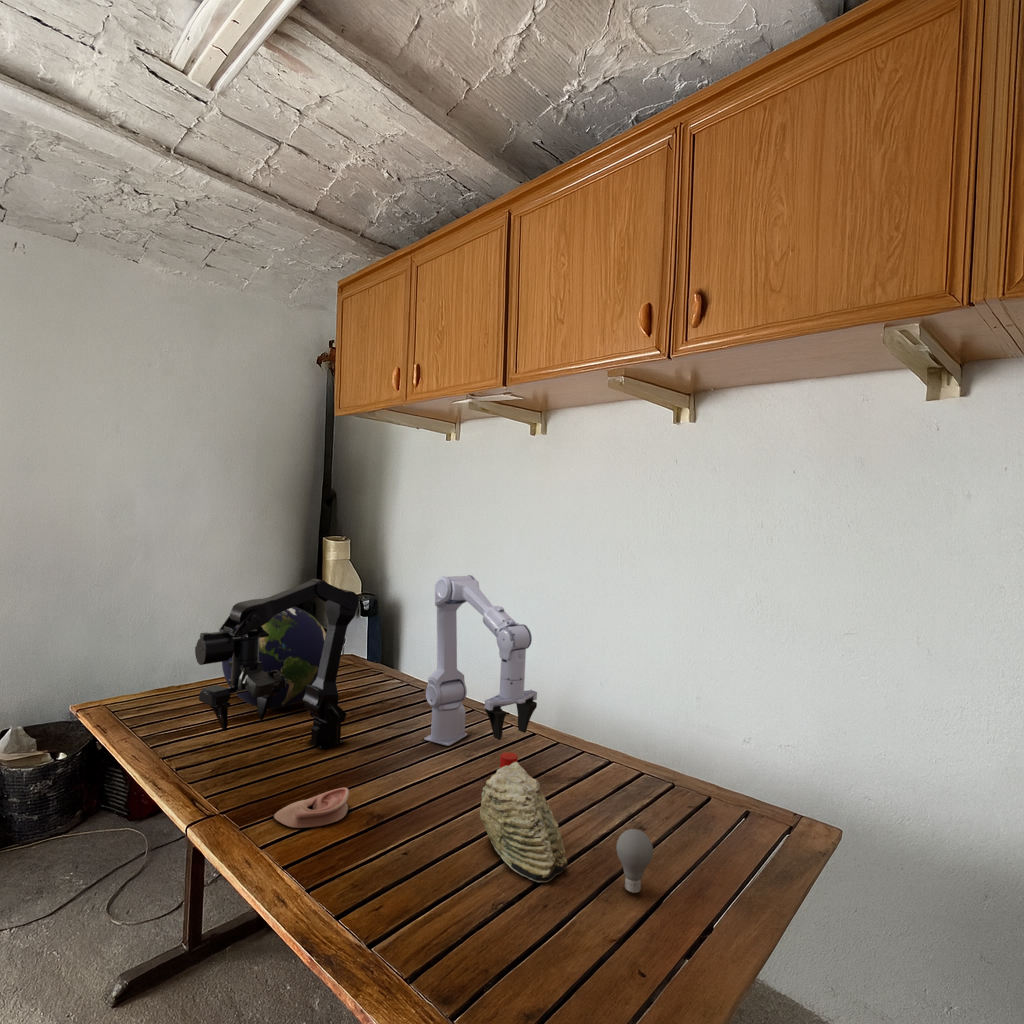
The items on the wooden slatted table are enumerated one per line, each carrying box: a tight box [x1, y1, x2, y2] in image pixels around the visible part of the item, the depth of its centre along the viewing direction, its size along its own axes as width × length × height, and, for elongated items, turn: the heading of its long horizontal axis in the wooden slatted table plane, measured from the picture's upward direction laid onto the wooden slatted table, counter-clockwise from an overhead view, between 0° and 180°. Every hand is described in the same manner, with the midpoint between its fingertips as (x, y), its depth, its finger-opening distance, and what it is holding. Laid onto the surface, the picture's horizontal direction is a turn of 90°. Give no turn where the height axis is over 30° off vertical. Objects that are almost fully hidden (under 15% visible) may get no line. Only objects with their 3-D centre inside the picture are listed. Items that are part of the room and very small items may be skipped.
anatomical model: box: [273, 787, 350, 829], centre depth 126 cm, size 13×4×12 cm
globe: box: [221, 606, 326, 709], centre depth 188 cm, size 30×30×30 cm
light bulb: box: [615, 828, 654, 894], centre depth 106 cm, size 6×6×10 cm
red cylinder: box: [499, 751, 519, 769], centre depth 149 cm, size 4×4×4 cm
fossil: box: [479, 761, 569, 883], centre depth 114 cm, size 9×18×15 cm, turn 46°
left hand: (243, 725), depth 146 cm, fingers open, 9 cm apart
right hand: (509, 734), depth 149 cm, fingers open, 7 cm apart
